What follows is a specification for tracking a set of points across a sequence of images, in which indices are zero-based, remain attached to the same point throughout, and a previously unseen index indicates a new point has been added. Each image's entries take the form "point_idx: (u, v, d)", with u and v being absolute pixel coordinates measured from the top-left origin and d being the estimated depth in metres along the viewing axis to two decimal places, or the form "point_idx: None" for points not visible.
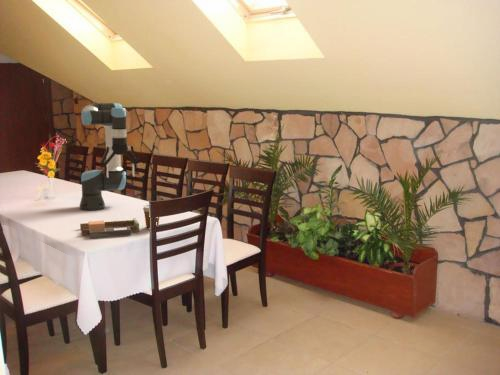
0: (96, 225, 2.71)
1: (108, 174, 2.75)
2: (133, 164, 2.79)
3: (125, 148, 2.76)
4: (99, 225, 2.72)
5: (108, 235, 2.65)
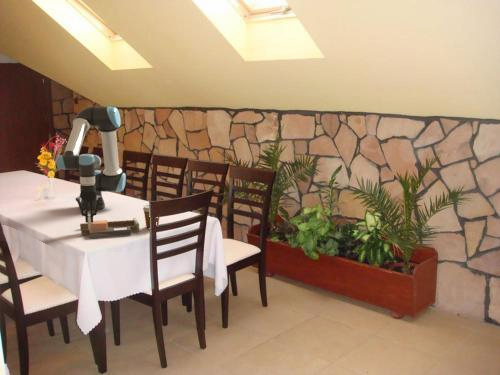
0: (98, 224, 2.72)
1: (89, 225, 2.72)
2: (89, 216, 2.71)
3: (93, 195, 2.70)
4: (101, 225, 2.72)
5: (108, 235, 2.65)
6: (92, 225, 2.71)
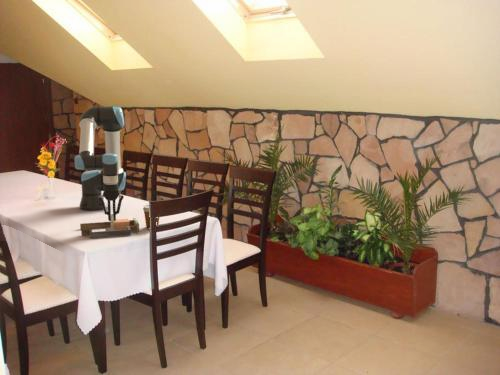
0: (121, 223, 2.76)
1: (112, 224, 2.76)
2: (112, 215, 2.75)
3: (116, 194, 2.74)
4: (124, 223, 2.76)
5: (108, 235, 2.65)
6: (115, 224, 2.75)
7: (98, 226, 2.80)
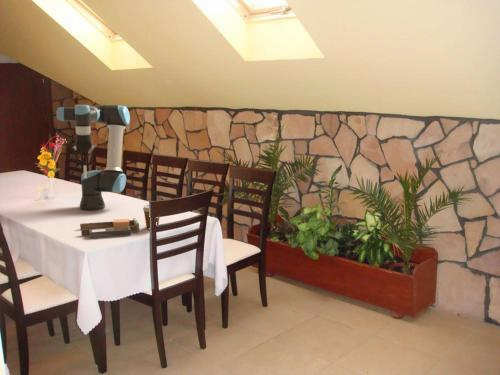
0: (120, 223, 2.76)
1: (85, 175, 2.80)
2: (85, 166, 2.80)
3: (89, 145, 2.78)
4: (123, 223, 2.76)
5: (108, 235, 2.65)
6: (114, 224, 2.75)
7: (98, 226, 2.80)
